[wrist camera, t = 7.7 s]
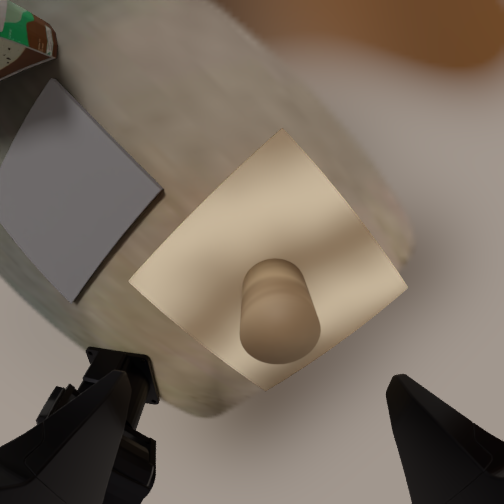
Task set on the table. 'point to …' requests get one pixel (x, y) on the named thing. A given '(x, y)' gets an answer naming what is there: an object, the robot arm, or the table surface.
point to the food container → (23, 40)
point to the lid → (270, 267)
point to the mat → (69, 190)
